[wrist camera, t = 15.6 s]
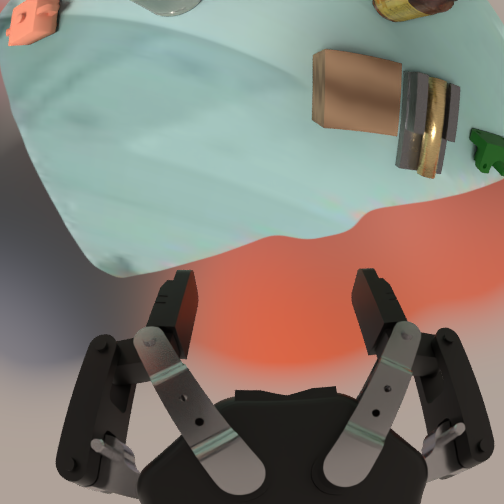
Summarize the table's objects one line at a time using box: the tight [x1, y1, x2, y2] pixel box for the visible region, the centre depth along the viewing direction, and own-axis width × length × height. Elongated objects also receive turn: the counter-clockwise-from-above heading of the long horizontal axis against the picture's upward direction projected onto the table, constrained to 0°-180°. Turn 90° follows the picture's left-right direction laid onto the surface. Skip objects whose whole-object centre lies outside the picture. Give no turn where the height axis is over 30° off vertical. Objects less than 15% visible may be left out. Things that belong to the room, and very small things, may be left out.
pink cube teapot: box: [6, 0, 60, 46], centre depth 19 cm, size 8×12×8 cm, turn 87°
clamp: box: [470, 129, 504, 176], centre depth 32 cm, size 12×6×9 cm, turn 88°
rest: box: [395, 71, 460, 174], centre depth 32 cm, size 16×9×4 cm, turn 1°
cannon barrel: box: [417, 77, 447, 179], centre depth 31 cm, size 16×3×3 cm, turn 1°
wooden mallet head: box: [312, 49, 402, 136], centre depth 29 cm, size 10×10×8 cm
